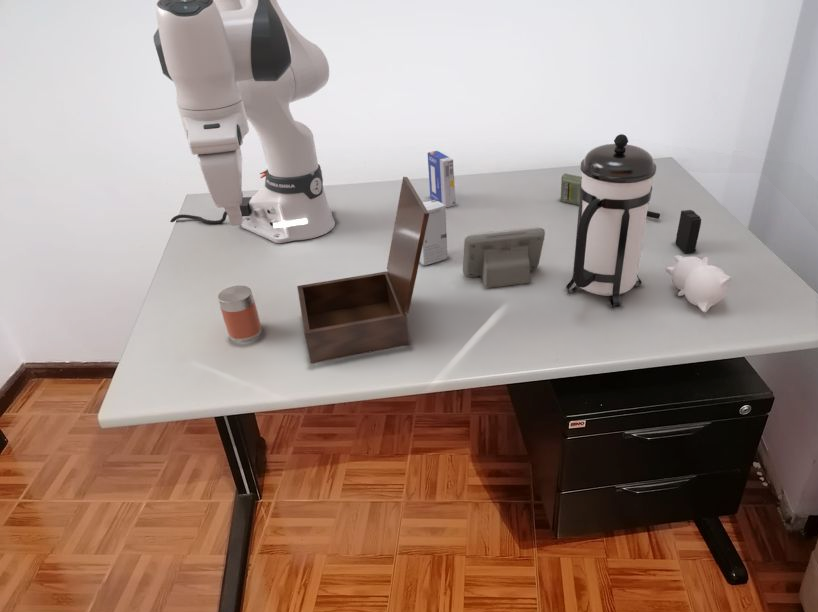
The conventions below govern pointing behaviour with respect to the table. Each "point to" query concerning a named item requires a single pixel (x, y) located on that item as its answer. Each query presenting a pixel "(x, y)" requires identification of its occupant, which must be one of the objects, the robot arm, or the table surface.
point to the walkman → (441, 178)
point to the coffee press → (612, 218)
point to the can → (240, 313)
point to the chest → (352, 316)
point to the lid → (407, 243)
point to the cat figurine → (699, 281)
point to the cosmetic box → (434, 234)
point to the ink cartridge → (688, 231)
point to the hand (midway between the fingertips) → (237, 210)
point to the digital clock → (503, 255)
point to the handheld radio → (572, 188)
